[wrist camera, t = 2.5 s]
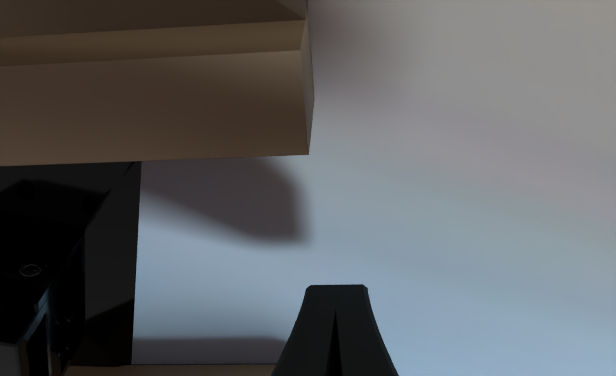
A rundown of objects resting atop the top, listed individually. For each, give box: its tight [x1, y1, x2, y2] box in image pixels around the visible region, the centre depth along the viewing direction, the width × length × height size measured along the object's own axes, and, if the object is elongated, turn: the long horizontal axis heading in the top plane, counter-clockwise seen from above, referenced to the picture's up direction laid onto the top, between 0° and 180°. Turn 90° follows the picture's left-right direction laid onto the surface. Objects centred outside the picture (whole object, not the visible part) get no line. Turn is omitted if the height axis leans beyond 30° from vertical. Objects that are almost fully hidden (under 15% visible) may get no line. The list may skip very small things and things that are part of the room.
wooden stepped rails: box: [0, 0, 314, 376], centre depth 14 cm, size 21×16×2 cm
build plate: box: [0, 161, 141, 376], centre depth 14 cm, size 12×7×5 cm, turn 167°
